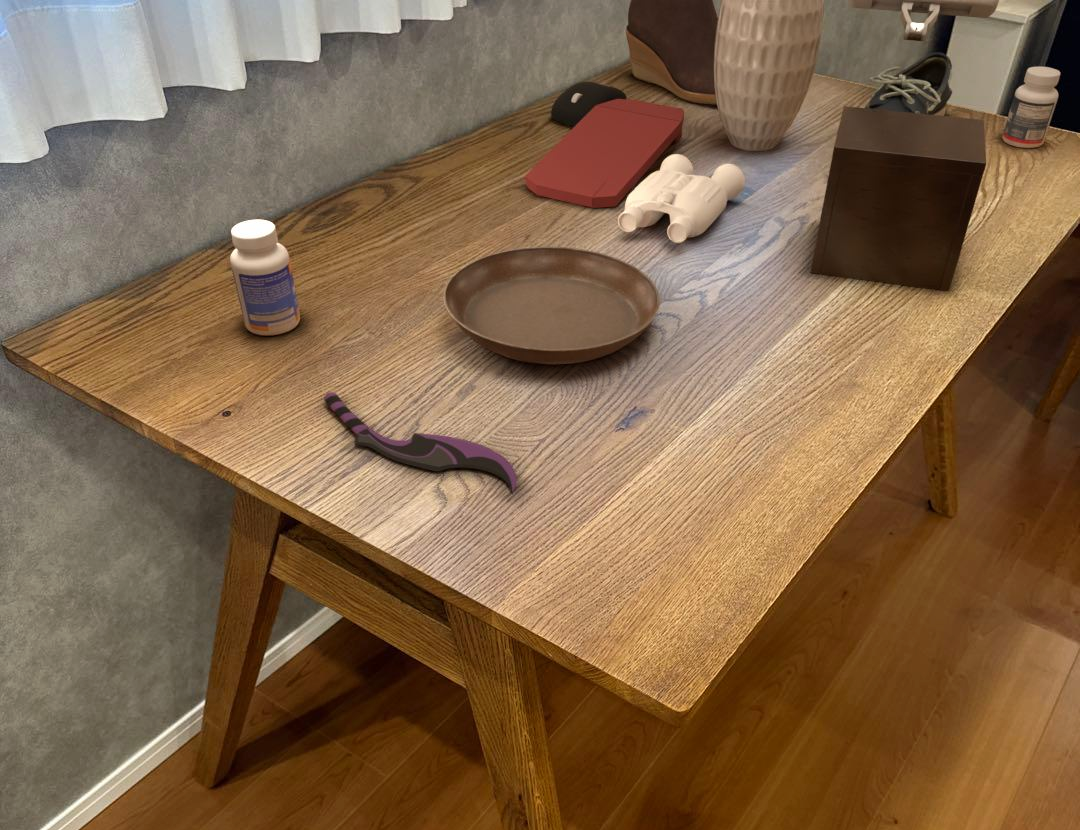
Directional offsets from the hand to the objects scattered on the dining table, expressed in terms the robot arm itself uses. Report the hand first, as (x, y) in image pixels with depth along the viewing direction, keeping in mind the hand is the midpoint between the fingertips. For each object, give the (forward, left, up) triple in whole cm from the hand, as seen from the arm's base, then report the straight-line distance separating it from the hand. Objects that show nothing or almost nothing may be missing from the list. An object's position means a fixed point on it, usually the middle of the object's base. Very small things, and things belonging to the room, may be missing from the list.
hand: (914, 38), depth 143 cm
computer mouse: (+41, +21, -8) cm, 47 cm away
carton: (+34, +38, -8) cm, 52 cm away
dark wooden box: (0, +54, -8) cm, 55 cm away
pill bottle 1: (+56, +86, -8) cm, 103 cm away
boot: (+30, +7, -8) cm, 32 cm away
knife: (+35, +101, -8) cm, 107 cm away
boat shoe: (0, +16, -8) cm, 18 cm away
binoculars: (+23, +51, -8) cm, 57 cm away
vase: (+18, +25, -8) cm, 32 cm away
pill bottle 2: (-16, +14, -8) cm, 23 cm away
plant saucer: (+30, +78, -8) cm, 84 cm away
